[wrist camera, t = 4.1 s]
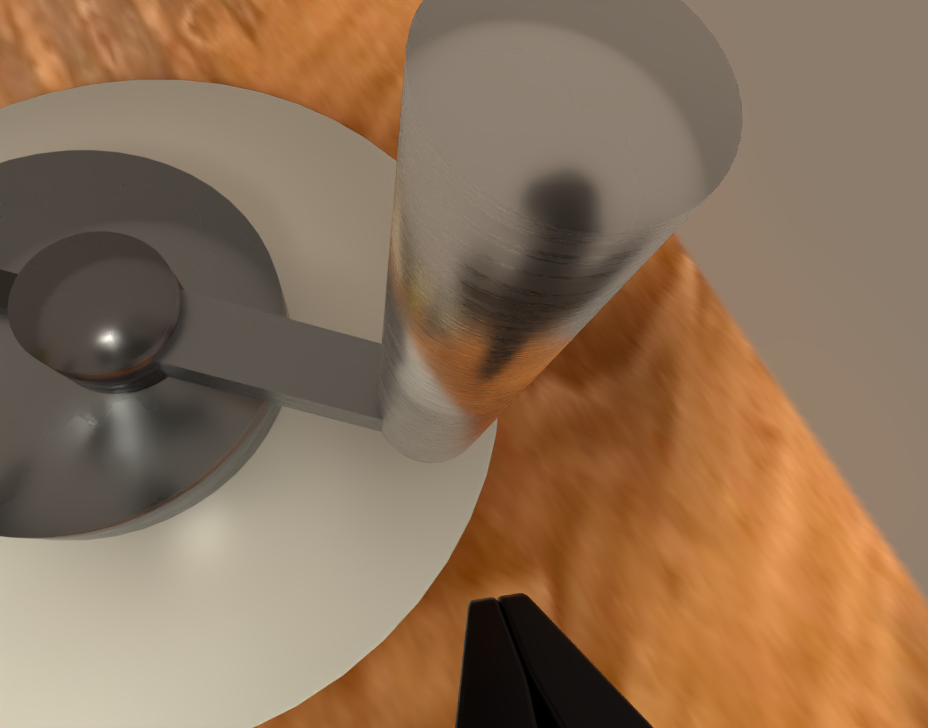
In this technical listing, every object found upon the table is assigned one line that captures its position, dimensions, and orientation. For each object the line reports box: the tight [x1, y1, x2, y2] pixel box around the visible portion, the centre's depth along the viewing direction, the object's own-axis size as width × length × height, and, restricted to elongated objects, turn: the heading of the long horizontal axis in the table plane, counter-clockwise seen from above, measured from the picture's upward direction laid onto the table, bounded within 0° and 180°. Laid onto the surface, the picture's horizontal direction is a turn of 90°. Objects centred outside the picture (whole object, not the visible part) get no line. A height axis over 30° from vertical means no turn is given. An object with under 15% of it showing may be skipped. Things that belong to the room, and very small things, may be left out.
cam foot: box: [0, 0, 742, 540], centre depth 9 cm, size 13×11×12 cm
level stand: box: [0, 80, 498, 728], centre depth 14 cm, size 18×18×4 cm
